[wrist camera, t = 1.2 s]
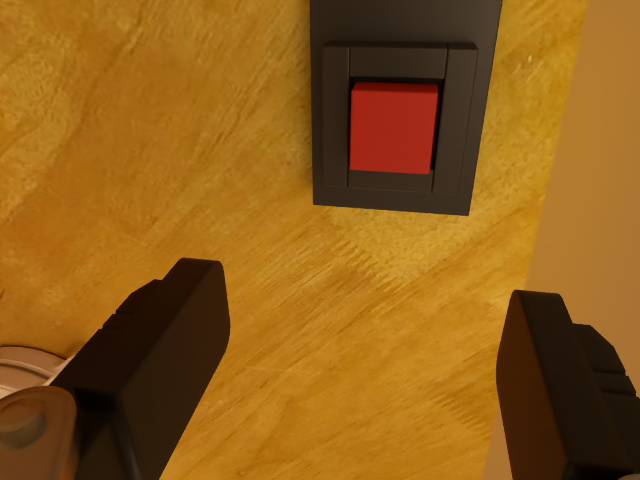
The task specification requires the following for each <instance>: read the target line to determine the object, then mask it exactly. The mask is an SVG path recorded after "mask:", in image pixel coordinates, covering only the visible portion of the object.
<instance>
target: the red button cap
mask: <svg viewBox="0 0 640 480" xmlns="http://www.w3.org/2000/svg"><path fill="white" fill-rule="evenodd" d="M437 99H438V90H437V85H436V84H420V83H386V82H357V83H356V84H355V86H354V88H353V89H352V91H351V132H350V169H351V170H366V171H383V172H399V173H416V174H429V172H430V164H431V154H432V145H433V136H434V127H435V117H436V108H437Z"/></svg>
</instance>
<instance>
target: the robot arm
mask: <svg viewBox="0 0 640 480" xmlns="http://www.w3.org/2000/svg"><path fill="white" fill-rule="evenodd" d="M229 336H230V316H229V308H228V300H227V292H226V284H225V276H224V270H223V266H222V264H221V263H220V262H219V261H214V260H204V259H193V258H181V259H180V260H179V261H178V262H177V263H176V264H175V265H174V266H173V268H172V269H171V270H170V271H169V272H168V274H167V275H166V276H165V277H164V278H163V279H162V280H156V279H154V280H153V281H151V282H149V283H148V284H146V285H144V286H143V287H141V288H139V289H138V290H136V291H134V292H133V293H131V294H130V295H129V297H128V298H127V299H126V300H125V301H124V302H123V303H122V304H121V305H120V306H119V308H118V309H117V310H116V314H112V315H111V316H110V318H109V319H108V320H107V321H106V322H105V323H104V324H103V328H102V329H99V330H98V331H97V332H96V333H95V334H94V335H93V336H92V337H91V339H90V340H89V341H88V342H87V343H86V344H85V345H84V346H83V347H82V349H81V350H80V351H79V352H78V353H77V354H76V355H75V356H74V357H73V359H72V360H71V361H70V362H69V363H68V364H67V365H66V366H65V367H64V368H63V370H62V371H61V372H60V373H59V374H58V375H57V376H56V377H55V378H54V380H53V381H52V382H51V383H50V384H49V385H48V386H35V387H30V388H25V389H22V390H19V391H16V392H14V393H11V394H9V395H7V396H5V397H3V398H1V399H0V480H159V478H160V476H161V474H162V472H163V471H164V469H165V467H166V465H167V463H168V461H169V459H170V457H171V455H172V453H173V451H174V449H175V447H176V446H177V444H178V442H179V440H180V438H181V436H182V434H183V432H184V430H185V428H186V426H187V424H188V422H189V421H190V419H191V417H192V415H193V413H194V411H195V409H196V407H197V405H198V403H199V401H200V399H201V397H202V396H203V394H204V392H205V390H206V388H207V386H208V384H209V382H210V380H211V378H212V376H213V374H214V372H215V371H216V369H217V367H218V365H219V363H220V361H221V359H222V357H223V355H224V353H225V351H226V348H227V345H228V341H229ZM625 372H626V371H625V369H624V367H623V365H622V363H621V361H620V359H619V357H618V355H617V353H616V351H615V349H614V347H613V346H612V345H611V344H610V343H609V342H608V341H607V340H606V339H605V338H604V337H602V336H601V335H600V334H599V333H598V332H597V331H596V330H595V329H594V328H593V327H591V326H590V325H583V324H574V323H572V320H571V318H570V316H569V313H568V311H567V309H566V306H565V304H564V301H563V299H562V297H561V296H560V295H559V294H556V293H545V292H535V291H525V290H514V291H513V293H512V295H511V298H510V301H509V306H508V310H507V315H506V319H505V324H504V328H503V333H502V337H501V342H500V346H499V351H498V356H497V364H496V384H497V391H498V397H499V403H500V409H501V414H502V420H503V426H504V431H505V437H506V443H507V449H508V454H509V460H510V466H511V472H512V478H513V480H640V399H639V397H636V390H635V388H634V387H633V384H632V383H631V381H630V379H629V376H626V375H625Z"/></svg>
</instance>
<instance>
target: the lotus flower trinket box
mask: <svg viewBox="0 0 640 480" xmlns="http://www.w3.org/2000/svg"><path fill="white" fill-rule="evenodd" d="M76 354H77V353H76ZM76 354H74V355H72V356H70V357H69V358H68V359H66V360H64V359H62V358H59V357H57V356H55V355H52V354H49V353H46V352H43V351H40V350H35V349H31V348H24V347H0V399H1V398H3V397H5V396H7V395H9V394H11V393H14V392H16V391H19V390H22V389H25V388H30V387H35V386H48V385H49V384H50V383H51V382H52V381H53V380H54V378H55V377H56V376H57V375H58V374H59V373H60V372H61V371H62V370H63V368H64V367H65V366H66V365H67V364H68V363H69V362H70V361H71V360H72V359H73V357H74V356H75V355H76Z"/></svg>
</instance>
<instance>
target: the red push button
mask: <svg viewBox="0 0 640 480" xmlns="http://www.w3.org/2000/svg"><path fill="white" fill-rule="evenodd" d="M502 1H503V0H310V47H311V108H312V169H313V205H323V206H337V207H351V208H364V209H378V210H392V211H406V212H420V213H434V214H447V215H461V216H468V215H469V211H470V204H471V198H472V191H473V185H474V179H475V172H476V166H477V160H478V153H479V147H480V141H481V134H482V128H483V122H484V115H485V109H486V102H487V96H488V90H489V83H490V77H491V71H492V64H493V58H494V52H495V45H496V39H497V32H498V26H499V20H500V13H501V7H502ZM357 82H386V83H420V84H436V85H437V90H438V99H437V108H436V117H435V127H434V136H433V145H432V154H431V164H430V172H429V174H416V173H399V172H383V171H366V170H351V169H350V132H351V91H352V89H353V88H354V86H355V84H356V83H357Z"/></svg>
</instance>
